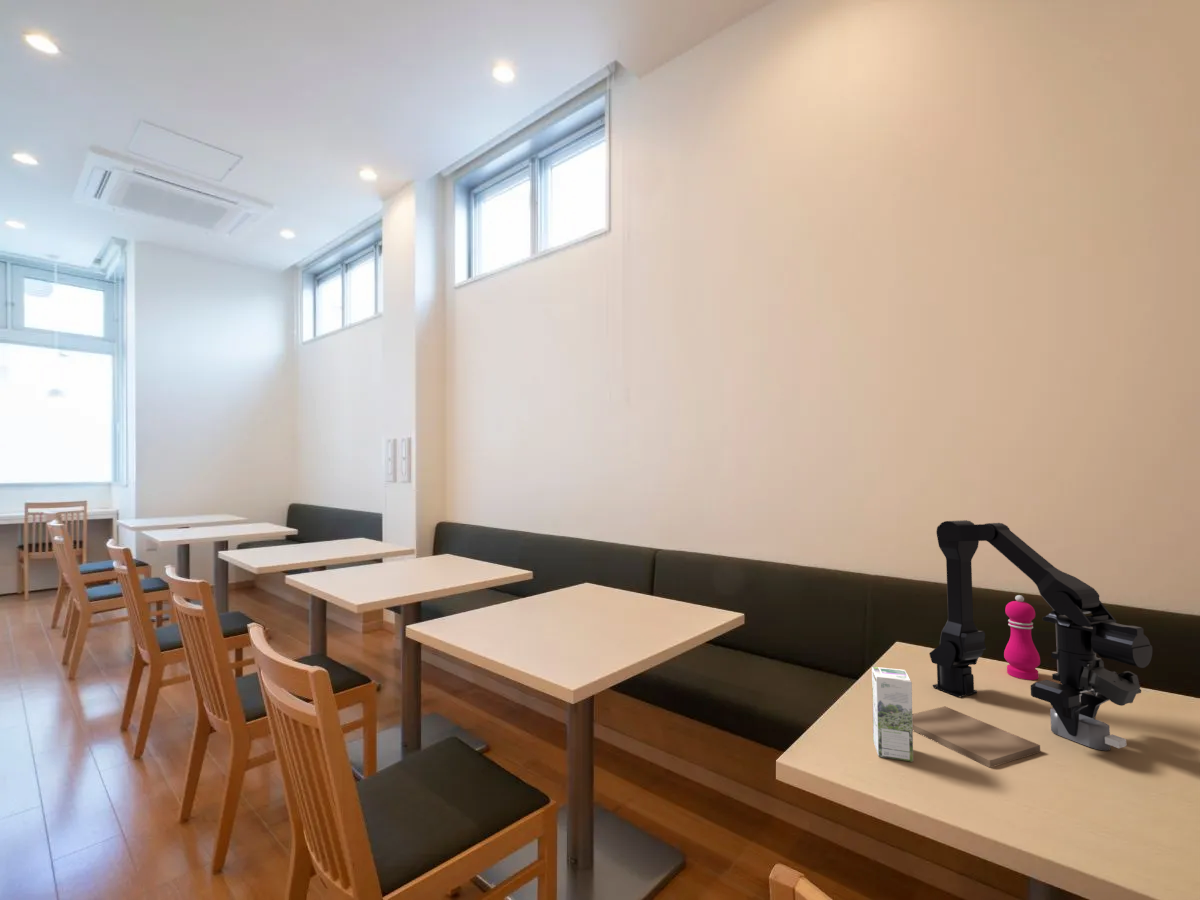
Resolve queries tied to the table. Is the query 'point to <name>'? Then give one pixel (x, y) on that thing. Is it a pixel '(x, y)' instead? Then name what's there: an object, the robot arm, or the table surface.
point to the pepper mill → (1021, 641)
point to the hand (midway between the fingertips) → (1079, 733)
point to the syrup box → (892, 713)
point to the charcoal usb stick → (1088, 732)
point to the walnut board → (972, 736)
